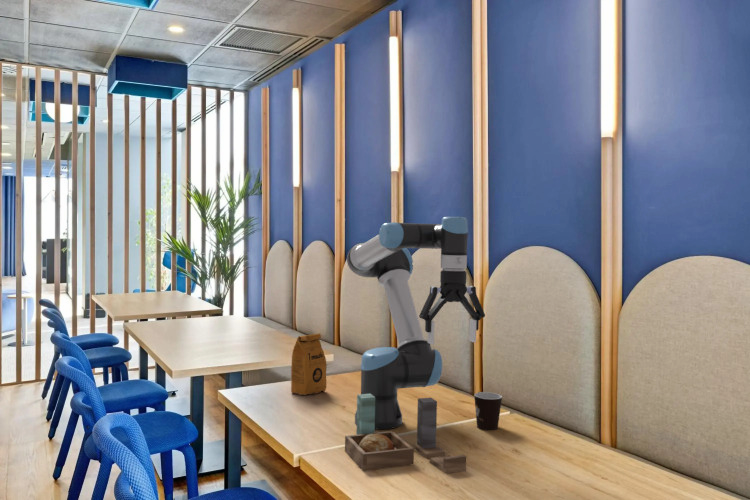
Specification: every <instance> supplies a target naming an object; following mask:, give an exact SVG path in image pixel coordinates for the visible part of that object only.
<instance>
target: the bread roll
mask: <svg viewBox="0 0 750 500" xmlns="http://www.w3.org/2000/svg"><path fill="white" fill-rule="evenodd" d="M359 446H360V447H361V448H362V449H363V450H364V451H365V453H367V452H376V451H385V450H394V447H395V445H394V444H393V443H392V442H391V440H390V439H389V438H388V437H386V436H384V435H381V434H369V435H366V436H365V437H364V438H363V439H362V440H361V442H360V444H359Z"/></svg>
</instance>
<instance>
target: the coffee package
mask: <svg viewBox="0 0 750 500" xmlns="http://www.w3.org/2000/svg"><path fill="white" fill-rule="evenodd" d="M321 338H322V335H321V333H319V332H318V333H313V334H308V335H307V334H306V335H300V336H299V335H298V336H297V338H296V341H295V344H294V346H293V349H292V354H291V368H290V369H291V370H290V371H291V373H290V375H291V379H290V381H291V387H290V388H291V389H290V392H291V393H292V394H297V393H298V394H299V395H301V396H307V394H309V395H313V394H312V393H314V394H319V393H322V392H321V391H324V392H325V391H326V390H327V358H326V356H325V352H324V349H323V348H322V343H321V340H320V339H321ZM318 392H319V393H318Z"/></svg>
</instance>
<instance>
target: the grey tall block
mask: <svg viewBox="0 0 750 500" xmlns="http://www.w3.org/2000/svg"><path fill="white" fill-rule="evenodd" d="M437 412H438V401H437V400H436V399H434V398H432V397H424V398H423V397H422V398H417V422H416V428H417V429H416V443H413V446H412V448H414V451H416V452H417V453H418V454H420V455H421V456H422V457H423V458H424V459H430V458H434V457H441V456H447V455H446V454H447V452H446V451H447V450H444V449H443V448H442V447H441V446H440V445H438V444H437V415H438V413H437Z"/></svg>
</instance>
